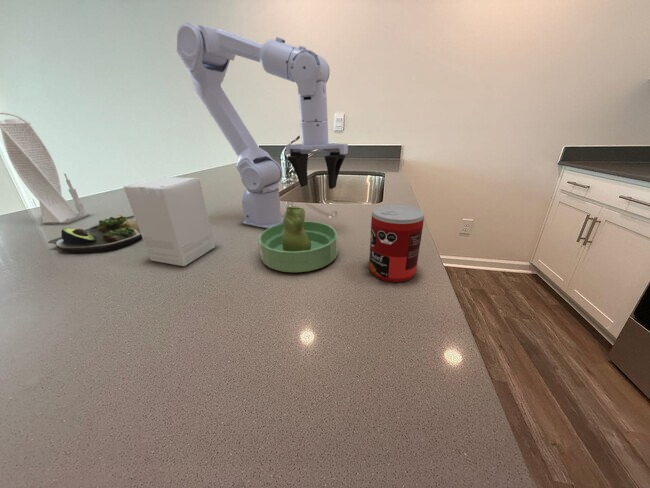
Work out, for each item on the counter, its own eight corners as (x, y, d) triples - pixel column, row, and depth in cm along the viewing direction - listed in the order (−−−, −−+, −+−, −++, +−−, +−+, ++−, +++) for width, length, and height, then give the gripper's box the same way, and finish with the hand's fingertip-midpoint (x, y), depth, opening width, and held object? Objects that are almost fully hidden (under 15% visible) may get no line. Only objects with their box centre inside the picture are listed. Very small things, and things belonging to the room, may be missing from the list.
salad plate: (105, 222, 72) (98, 207, 70) (170, 220, 72) (165, 204, 70) (38, 255, 54) (26, 235, 52) (124, 252, 55) (115, 232, 53)
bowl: (245, 263, 49) (241, 242, 47) (290, 235, 61) (289, 217, 59) (312, 283, 42) (311, 259, 40) (349, 247, 54) (349, 227, 52)
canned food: (364, 261, 48) (367, 205, 44) (405, 259, 49) (412, 203, 44) (375, 285, 42) (379, 221, 37) (423, 281, 42) (433, 218, 37)
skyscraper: (63, 225, 71) (6, 111, 59) (34, 226, 71) (-28, 112, 59) (89, 215, 78) (44, 112, 66) (63, 215, 78) (13, 113, 66)
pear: (287, 250, 52) (282, 202, 48) (313, 250, 52) (311, 202, 47) (280, 264, 47) (275, 212, 43) (309, 264, 47) (306, 212, 42)
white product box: (217, 247, 56) (201, 177, 49) (184, 267, 48) (160, 188, 42) (184, 242, 58) (165, 175, 52) (148, 260, 51) (121, 185, 44)
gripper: (274, 124, 54) (282, 188, 60) (336, 120, 48) (338, 193, 53) (293, 123, 60) (299, 182, 65) (351, 120, 53) (351, 185, 59)
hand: (317, 186), depth 60 cm, fingers open, 7 cm apart
